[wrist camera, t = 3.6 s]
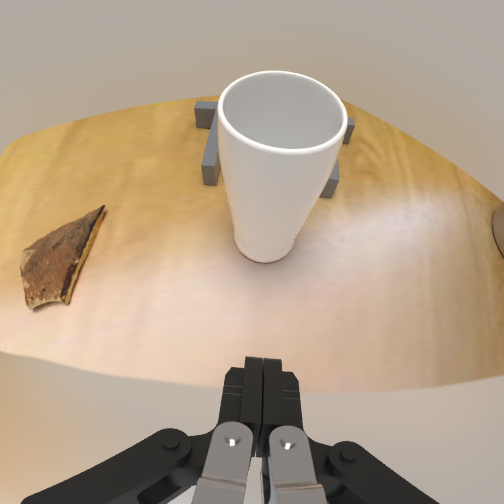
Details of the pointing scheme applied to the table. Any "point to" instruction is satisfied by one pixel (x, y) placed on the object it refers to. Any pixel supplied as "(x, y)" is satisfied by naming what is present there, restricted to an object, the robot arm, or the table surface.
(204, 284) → the table surface
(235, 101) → the white cup
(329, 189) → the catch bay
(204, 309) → the table surface
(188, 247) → the table surface
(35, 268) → the shard
